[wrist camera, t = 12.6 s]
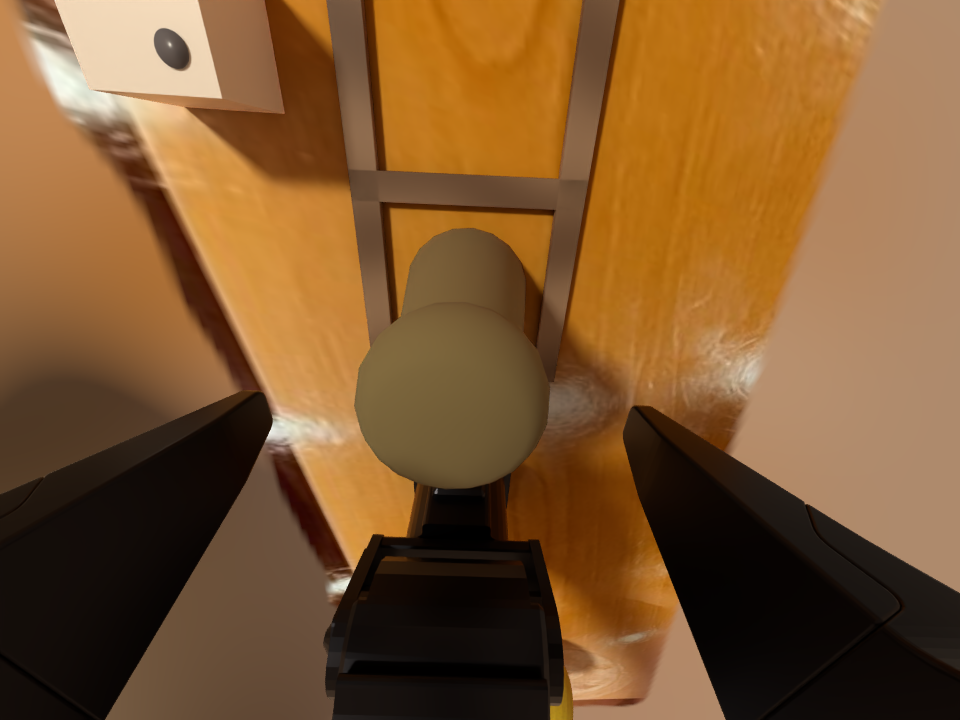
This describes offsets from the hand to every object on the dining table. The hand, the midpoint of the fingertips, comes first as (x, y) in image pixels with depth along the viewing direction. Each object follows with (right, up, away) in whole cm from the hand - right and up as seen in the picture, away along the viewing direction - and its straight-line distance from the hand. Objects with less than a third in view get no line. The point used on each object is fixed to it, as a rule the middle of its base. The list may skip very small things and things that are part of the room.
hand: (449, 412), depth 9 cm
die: (-9, +13, +5) cm, 17 cm away
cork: (0, +5, +9) cm, 11 cm away
